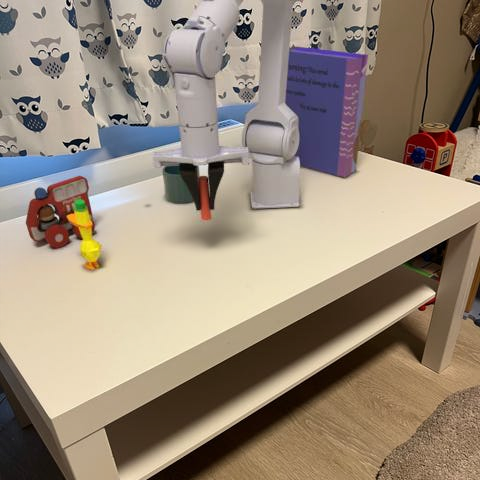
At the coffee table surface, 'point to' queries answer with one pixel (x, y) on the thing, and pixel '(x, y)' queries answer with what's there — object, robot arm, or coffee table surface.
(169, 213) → the coffee table surface
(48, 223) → the toy fire truck
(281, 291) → the coffee table surface
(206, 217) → the red cylinder
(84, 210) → the toy figure
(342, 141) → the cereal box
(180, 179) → the can
